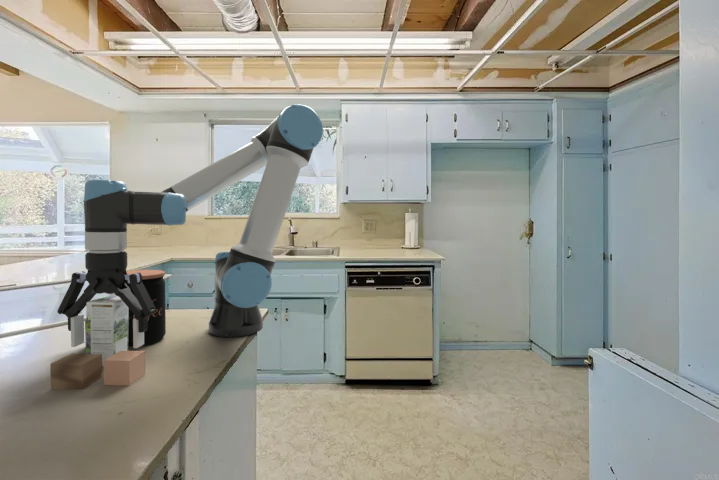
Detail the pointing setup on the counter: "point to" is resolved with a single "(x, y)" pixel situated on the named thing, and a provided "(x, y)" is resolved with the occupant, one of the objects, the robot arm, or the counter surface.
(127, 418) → the counter surface
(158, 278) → the coffee jar
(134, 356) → the terracotta block
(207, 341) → the counter surface
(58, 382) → the walnut block
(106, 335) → the syrup box
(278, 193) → the robot arm
